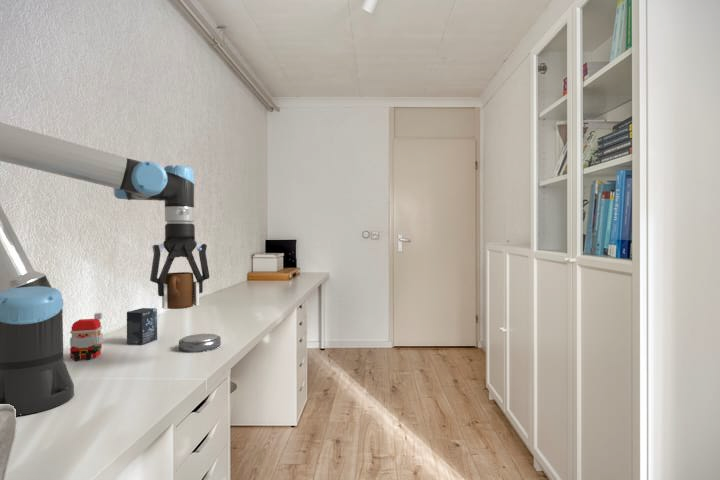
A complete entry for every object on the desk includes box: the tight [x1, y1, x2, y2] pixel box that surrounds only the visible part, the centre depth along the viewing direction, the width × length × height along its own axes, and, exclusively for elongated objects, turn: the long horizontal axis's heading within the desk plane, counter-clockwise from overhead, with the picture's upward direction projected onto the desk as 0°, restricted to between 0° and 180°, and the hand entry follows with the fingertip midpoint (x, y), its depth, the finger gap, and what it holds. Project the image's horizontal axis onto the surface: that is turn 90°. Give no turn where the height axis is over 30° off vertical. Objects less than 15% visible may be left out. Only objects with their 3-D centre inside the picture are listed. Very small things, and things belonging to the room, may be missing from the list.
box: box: [126, 307, 158, 346], centre depth 143 cm, size 8×6×11 cm
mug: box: [164, 271, 195, 310], centre depth 120 cm, size 12×8×9 cm, turn 10°
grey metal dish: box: [178, 333, 221, 353], centre depth 135 cm, size 12×12×3 cm
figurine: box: [69, 312, 103, 362], centre depth 125 cm, size 8×7×12 cm
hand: (180, 306), depth 120 cm, fingers closed on mug, 7 cm apart
